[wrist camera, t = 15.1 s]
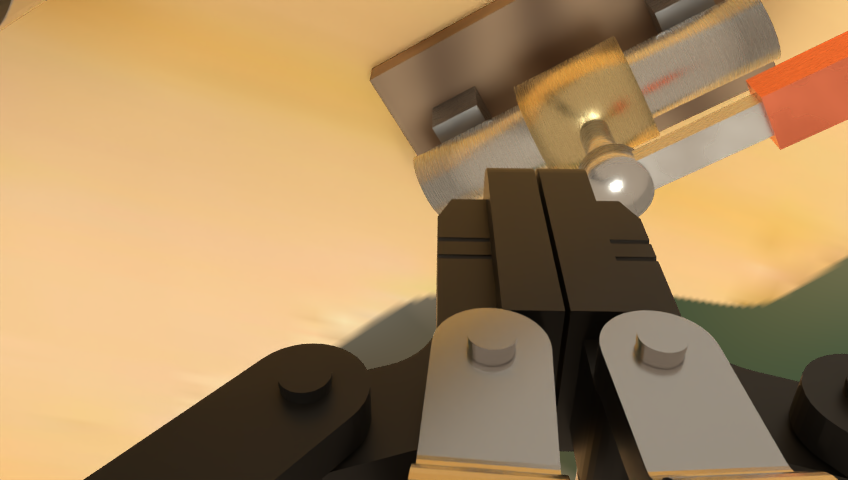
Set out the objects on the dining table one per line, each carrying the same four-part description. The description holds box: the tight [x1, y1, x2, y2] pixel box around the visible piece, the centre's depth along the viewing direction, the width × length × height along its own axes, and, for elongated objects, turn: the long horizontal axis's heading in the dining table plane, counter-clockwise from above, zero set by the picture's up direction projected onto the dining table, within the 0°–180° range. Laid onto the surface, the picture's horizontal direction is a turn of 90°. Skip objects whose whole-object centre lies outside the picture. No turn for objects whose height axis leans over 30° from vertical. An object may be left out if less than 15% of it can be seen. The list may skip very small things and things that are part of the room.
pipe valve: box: [414, 0, 781, 214], centre depth 42 cm, size 20×6×12 cm, turn 120°
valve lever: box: [578, 31, 848, 217], centre depth 34 cm, size 3×16×2 cm, turn 120°
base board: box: [370, 0, 775, 169], centre depth 48 cm, size 22×12×2 cm, turn 120°
